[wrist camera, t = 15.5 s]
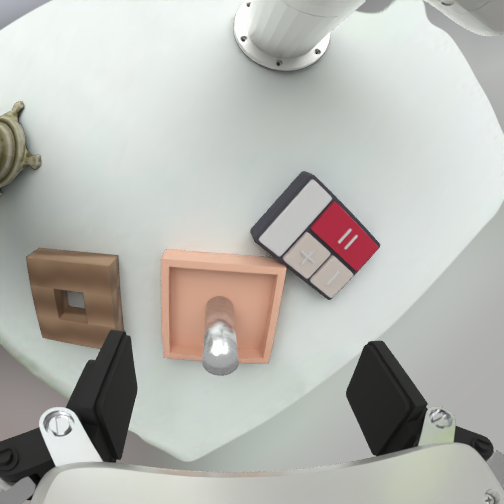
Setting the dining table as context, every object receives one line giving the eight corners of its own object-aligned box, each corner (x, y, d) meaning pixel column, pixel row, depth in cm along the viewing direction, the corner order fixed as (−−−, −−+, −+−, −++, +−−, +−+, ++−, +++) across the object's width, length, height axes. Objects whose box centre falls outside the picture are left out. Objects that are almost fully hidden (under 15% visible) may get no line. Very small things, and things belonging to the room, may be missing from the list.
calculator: (331, 304, 42) (253, 242, 37) (321, 289, 46) (248, 231, 41) (384, 247, 40) (314, 173, 35) (370, 237, 44) (303, 169, 39)
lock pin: (206, 295, 42) (202, 347, 31) (234, 297, 43) (240, 349, 32) (205, 319, 44) (201, 374, 32) (232, 320, 44) (236, 376, 33)
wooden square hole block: (38, 247, 38) (26, 257, 35) (118, 255, 40) (109, 266, 36) (52, 324, 43) (42, 337, 39) (124, 336, 45) (118, 351, 41)
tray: (165, 249, 41) (161, 258, 37) (281, 258, 43) (286, 268, 39) (166, 343, 46) (163, 357, 43) (265, 349, 48) (268, 363, 45)
